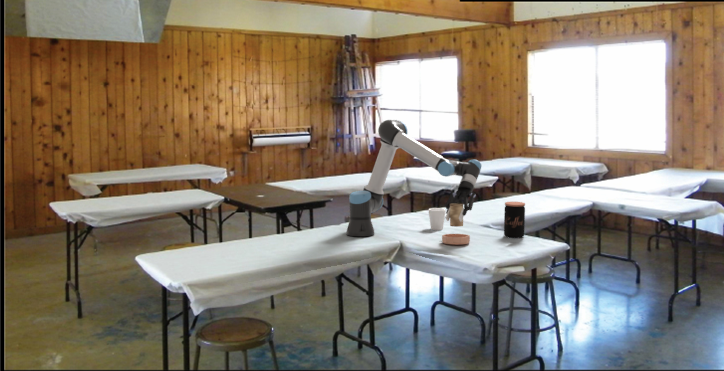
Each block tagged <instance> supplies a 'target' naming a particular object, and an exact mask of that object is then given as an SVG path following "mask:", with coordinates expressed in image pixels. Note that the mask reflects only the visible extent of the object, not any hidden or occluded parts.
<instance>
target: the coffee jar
mask: <svg viewBox="0 0 724 371" xmlns="http://www.w3.org/2000/svg"><path fill="white" fill-rule="evenodd" d="M504 205H505V206H504V214H503V215H504V219H503V220H504V222H503V235H504V236H505V237H506V238H508V237H509V238H510V239H520V238H521V239H522V238H524V236H525V223H526V222H525V218H526V207H525V206H526V203H525V202H523V201H505V202H504ZM509 238H508V239H509Z"/></svg>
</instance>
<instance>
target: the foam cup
mask: <svg viewBox="0 0 724 371" xmlns="http://www.w3.org/2000/svg"><path fill="white" fill-rule="evenodd" d="M446 211H447V209H445V208H442V207H430V208H428V217H429V222H430V223H429V224H430V225H429V226H430V229H431V231H442V230H444V225H445V219H446V218H445V217H446Z"/></svg>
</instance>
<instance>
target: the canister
mask: <svg viewBox="0 0 724 371" xmlns="http://www.w3.org/2000/svg"><path fill="white" fill-rule="evenodd" d="M462 208H464V203H461V202H460V203H453V204H450V218H449V225H450V227H456V228H457V227H463V226H464V218H463V219H462V222H460V220H459V216H460V213H461V210H462Z"/></svg>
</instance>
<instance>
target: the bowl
mask: <svg viewBox="0 0 724 371" xmlns="http://www.w3.org/2000/svg"><path fill="white" fill-rule="evenodd" d="M470 239H471V236H470V235H469V234H466V233H444V234H441V241H442V242H441V243H442V244H445V245H454V246H455V245H467V244H470V242H471V240H470Z"/></svg>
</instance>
